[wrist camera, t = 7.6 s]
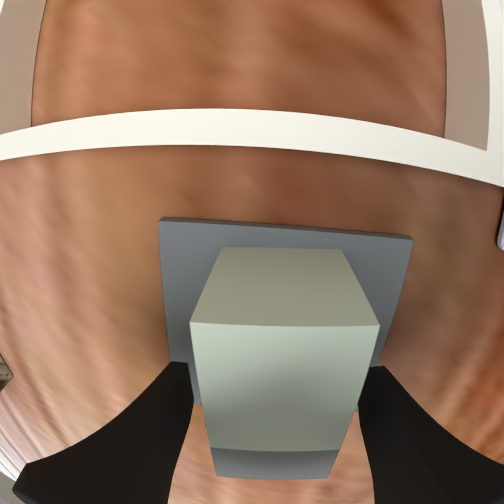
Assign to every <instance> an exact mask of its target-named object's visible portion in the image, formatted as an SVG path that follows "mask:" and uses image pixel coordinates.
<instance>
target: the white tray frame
mask: <svg viewBox="0 0 504 504" xmlns="http://www.w3.org/2000/svg"><path fill="white" fill-rule="evenodd" d="M45 4H46V0H0V160H5V159H10V158H17V157H23V156H30V155H37V154H44V153H52V152H60V151H70V150H80V149H91V148H104V147H119V146H140V145H234V146H256V147H272V148H285V149H297V150H308V151H318V152H327V153H335V154H343V155H351V156H358V157H365V158H372V159H379V160H385V161H391V162H397V163H402V164H408V165H413V166H418V167H423V168H428V169H433V170H438V171H442V172H447V173H451V174H456V175H460V176H464V177H468V178H472V179H476V180H480V181H484V182H487V183H491V184H495V185H498V186H502V187H504V0H442V7H443V16H444V26H445V40H446V62H447V98H446V120H445V134H444V138H440V137H436V136H432V135H428V134H424V133H420V132H416V131H411V130H407V129H402V128H397V127H392V126H387V125H382V124H377V123H371V122H365V121H359V120H353V119H346V118H339V117H331V116H323V115H315V114H305V113H295V112H283V111H268V110H248V109H175V110H155V111H140V112H129V113H118V114H109V115H101V116H93V117H86V118H79V119H73V120H66V121H61V122H55V123H50V124H45V125H40V126H35V127H31V103H32V87H33V76H34V66H35V58H36V51H37V44H38V38H39V32H40V27H41V22H42V17H43V12H44V8H45Z"/></svg>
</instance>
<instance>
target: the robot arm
mask: <svg viewBox="0 0 504 504" xmlns="http://www.w3.org/2000/svg"><path fill="white" fill-rule="evenodd" d="M497 243H498V246H499V248H501V249H502V250H504V213H503V217H502V222H501V226H500V231H499V235H498V240H497ZM193 404H194V395H193V389H192V384H191V378H190V372H189V366H188V363H186V362H177V361H171V362H170V363H169V364H168V365H167V366H166V368H165V369H164V370H163V371H162V372H161V373H160V374H159V375H158V377H157V378H156V379H155V380H154V381H153V382H152V383H151V384H150V385H149V386H148V387H147V388H146V389H145V390H144V391H143V392H142V393H141V394H140V395H139V396H138V397H137V398H136V399H135V400H134V401H133V402H132V403H131V404H130V405H129V406H128V407H127V408H126V409H124V410H123V411H122V412H121V413H120V414H119V415H118V416H116V417H115V418H114V419H113V420H111V421H110V422H109V423H107V424H106V425H105V426H103V427H102V428H101V429H99V430H98V431H96V432H95V433H93V434H92V435H90V436H88V437H87V438H85V439H84V440H82V441H80V442H78V443H77V444H75V445H73V446H71V447H69V448H66V449H64V450H62V451H60V452H58V453H56V454H54V455H51V456H48V457H46V458H43V459H40V460H37V461H34V462H31V463H27V464H26V465H25V467H24V468H23V470H22V472H21V473H20V475H19V477H18V479H17V481H16V483H15V484H14V486H13V488H12V491H13V493H14V494H15V495H16V496H17V497H18V498H19V499H20V500H22V501H23V502H24V503H26V504H168V498H169V492H170V487H171V482H172V477H173V473H174V470H175V466H176V463H177V460H178V457H179V454H180V451H181V448H182V445H183V442H184V439H185V436H186V433H187V430H188V427H189V424H190V419H191V414H192V409H193ZM358 412H359V420H360V427H361V431H362V435H363V439H364V444H365V448H366V452H367V456H368V460H369V464H370V468H371V473H372V479H373V487H374V499H375V504H504V465H503V464H500V463H498V462H496V461H493V460H491V459H490V458H488V457H486V456H484V455H482V454H480V453H478V452H477V451H475V450H473V449H472V448H470V447H469V446H467V445H465V444H464V443H462V442H461V441H460V440H458V439H457V438H455V437H454V436H453V435H452V434H450V433H449V432H448V431H447V430H445V429H444V428H443V427H442V426H441V425H439V424H438V423H437V422H436V421H435V420H434V419H433V418H432V417H431V416H430V415H429V414H428V413H427V412H426V411H425V410H424V409H423V408H422V407H421V406H420V405H419V404H418V403H417V402H416V401H415V400H414V399H413V398H412V397H411V396H410V394H409V393H408V392H407V391H406V390H405V389H404V388H403V387H402V385H401V384H400V383H399V382H398V381H397V380H396V378H395V377H394V376H393V375H392V374H391V373H390V372H389V370H388V369H387V368H386V367H385V366H375V367H369V370H368V373H367V376H366V379H365V382H364V385H363V388H362V391H361V394H360V397H359V400H358ZM0 504H12V503H11V502H9V501H8V500H6V499H5V498H3V497H2V496H0Z"/></svg>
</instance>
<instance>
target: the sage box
mask: <svg viewBox="0 0 504 504" xmlns="http://www.w3.org/2000/svg"><path fill="white" fill-rule="evenodd" d="M379 327H380V324H379V322H378V320H377V318H376V316H375V314H374V312H373V310H372V308H371V306H370V304H369V302H368V300H367V298H366V296H365V294H364V292H363V290H362V288H361V286H360V284H359V282H358V280H357V278H356V276H355V274H354V272H353V270H352V268H351V267H350V265H349V263H348V261H347V259H346V257H345V255H344V253H343V252H342V250H341V249H307V248H263V247H222V248H221V250H220V252H219V255H218V257H217V259H216V261H215V264H214V266H213V268H212V271H211V273H210V275H209V277H208V280H207V282H206V284H205V287H204V289H203V291H202V294H201V296H200V298H199V301H198V303H197V305H196V308H195V310H194V313H193V315H192V317H191V320H190V330H191V338H192V345H193V352H194V358H195V365H196V372H197V378H198V384H199V390H200V396H201V402H202V407H203V413H204V418H205V424H206V429H207V434H208V439H209V444H210V449H211V454H212V458H213V463H214V467H215V472H216V476H221V477H231V478H245V479H267V480H301V479H323V478H328V475H329V473H330V471H331V469H332V466H333V464H334V462H335V459H336V457H337V455H338V452H339V450H340V447H341V445H342V443H343V440H344V437H345V435H346V432H347V430H348V427H349V424H350V422H351V419H352V416H353V413H354V411H355V408H356V405H357V402H358V399H359V396H360V393H361V390H362V387H363V384H364V381H365V377H366V374H367V371H368V368H369V364H370V361H371V357H372V354H373V350H374V347H375V343H376V339H377V335H378V331H379Z"/></svg>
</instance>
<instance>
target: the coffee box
mask: <svg viewBox="0 0 504 504" xmlns="http://www.w3.org/2000/svg"><path fill="white" fill-rule="evenodd" d="M12 378H13V375H12V373H11V372H10V370H9V369H8V367H7V365H6V364H5V362H4V361H3V359H2V357H1V356H0V392H1V391H2V389H3V388H4V387H5V386H6V384H7V383H8V382H9V381H10V380H11V379H12Z"/></svg>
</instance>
